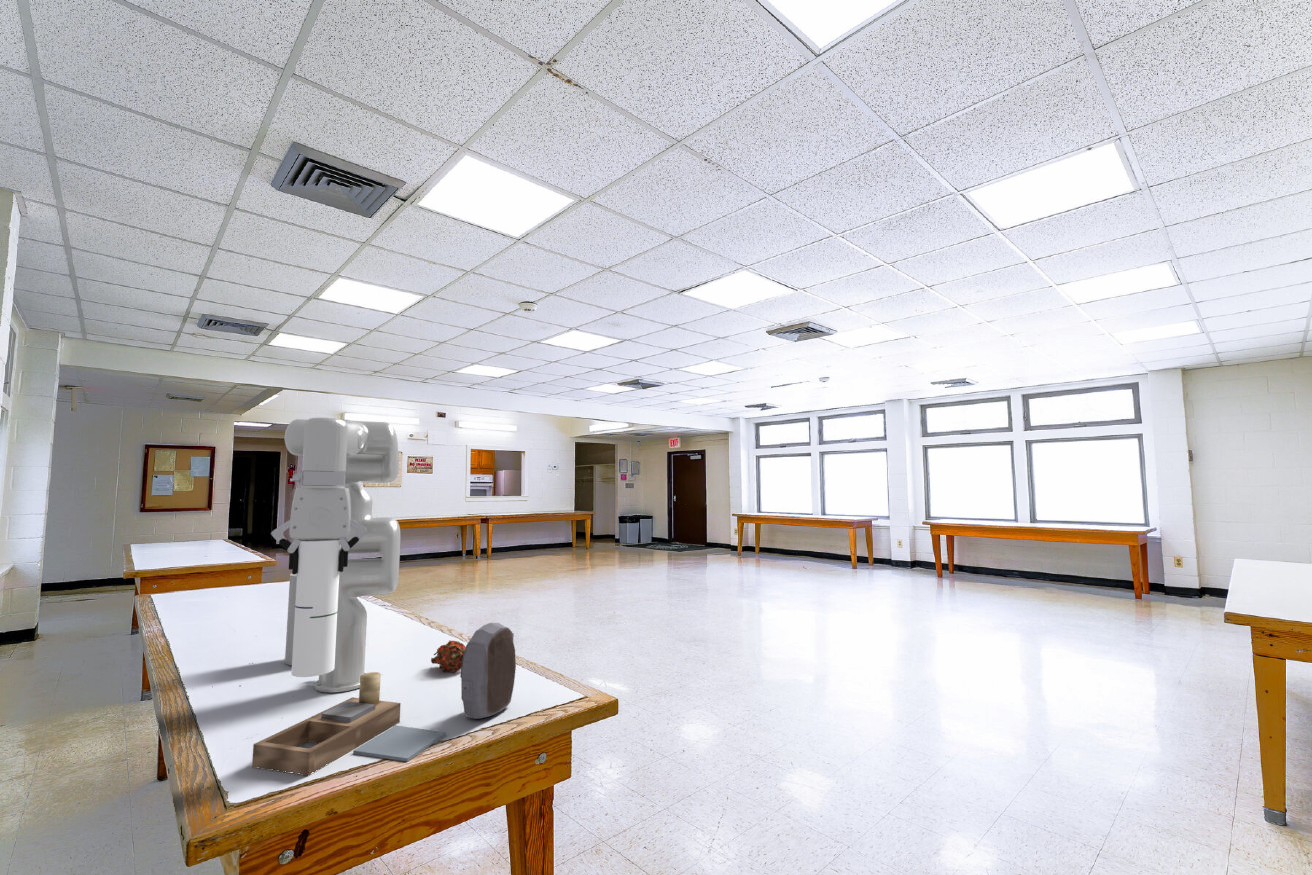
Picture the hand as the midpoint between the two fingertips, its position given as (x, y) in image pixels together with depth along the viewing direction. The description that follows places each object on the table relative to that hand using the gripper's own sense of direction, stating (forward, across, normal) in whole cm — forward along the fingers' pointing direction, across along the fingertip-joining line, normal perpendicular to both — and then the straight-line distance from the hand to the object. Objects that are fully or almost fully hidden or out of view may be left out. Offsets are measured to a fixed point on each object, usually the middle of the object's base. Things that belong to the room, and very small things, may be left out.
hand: (318, 571), depth 113 cm
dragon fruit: (+35, +30, +42) cm, 63 cm away
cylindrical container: (+19, 0, 0) cm, 19 cm away
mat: (+34, +16, -2) cm, 38 cm away
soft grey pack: (+35, +34, +8) cm, 49 cm away
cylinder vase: (+35, -5, +67) cm, 76 cm away
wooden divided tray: (+34, +4, +4) cm, 35 cm away
